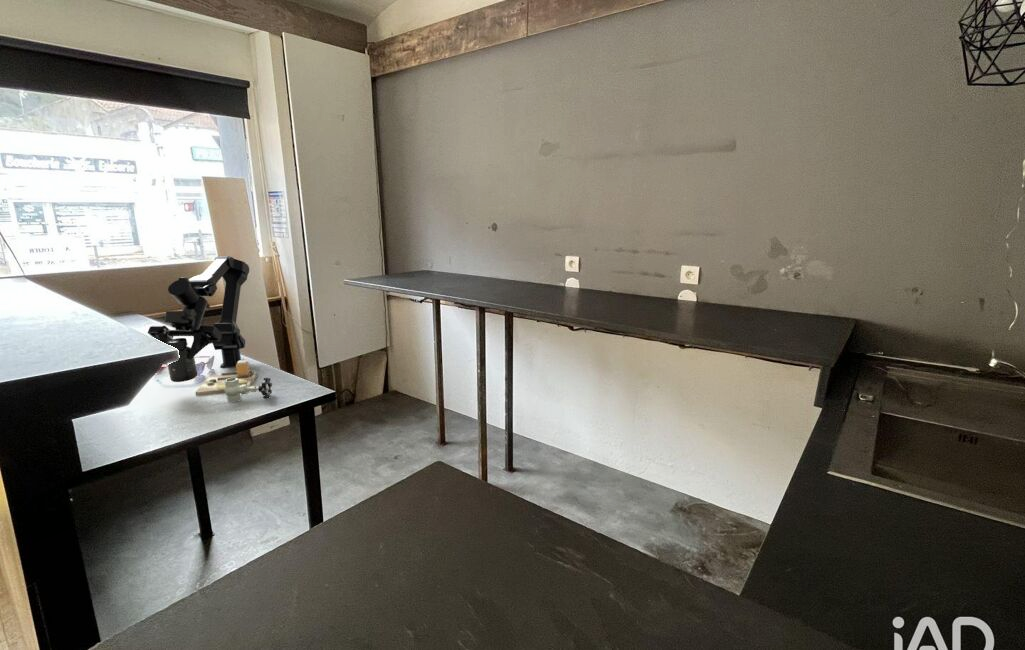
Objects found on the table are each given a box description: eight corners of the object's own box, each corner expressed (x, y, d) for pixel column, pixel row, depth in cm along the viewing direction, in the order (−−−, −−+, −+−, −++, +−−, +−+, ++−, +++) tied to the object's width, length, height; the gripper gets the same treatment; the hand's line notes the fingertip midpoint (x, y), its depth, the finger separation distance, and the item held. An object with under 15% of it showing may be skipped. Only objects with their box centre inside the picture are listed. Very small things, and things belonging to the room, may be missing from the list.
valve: (222, 405, 140) (266, 402, 142) (219, 383, 138) (263, 381, 140) (230, 396, 146) (273, 394, 148) (228, 376, 144) (270, 373, 147)
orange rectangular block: (239, 373, 161) (238, 360, 160) (249, 372, 162) (248, 359, 161) (237, 376, 158) (235, 363, 157) (247, 375, 159) (245, 362, 158)
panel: (211, 378, 160) (210, 373, 160) (257, 375, 164) (256, 370, 164) (195, 396, 146) (194, 390, 145) (247, 391, 150) (246, 386, 149)
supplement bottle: (165, 381, 143) (156, 342, 140) (185, 373, 149) (177, 336, 146) (183, 383, 141) (175, 344, 138) (203, 375, 147) (195, 337, 144)
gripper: (145, 299, 142) (126, 346, 134) (211, 299, 143) (195, 345, 136) (167, 318, 152) (150, 363, 144) (228, 318, 153) (214, 362, 145)
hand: (177, 358), depth 142 cm, fingers closed on supplement bottle, 7 cm apart
